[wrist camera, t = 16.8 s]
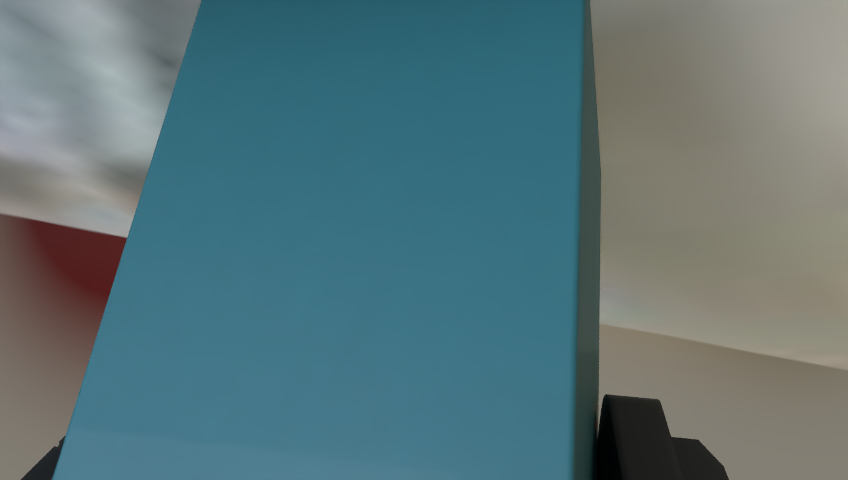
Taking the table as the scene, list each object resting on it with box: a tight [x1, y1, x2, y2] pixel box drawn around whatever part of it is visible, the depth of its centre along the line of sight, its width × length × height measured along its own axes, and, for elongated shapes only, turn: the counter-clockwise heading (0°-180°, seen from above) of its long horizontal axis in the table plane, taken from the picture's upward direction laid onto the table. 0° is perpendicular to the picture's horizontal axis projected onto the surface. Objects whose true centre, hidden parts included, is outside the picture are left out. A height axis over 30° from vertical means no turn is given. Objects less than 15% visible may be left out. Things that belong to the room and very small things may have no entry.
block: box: [52, 0, 601, 480], centre depth 9 cm, size 5×5×10 cm
